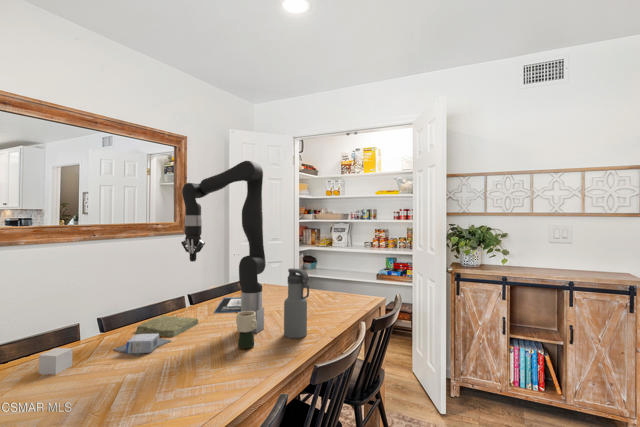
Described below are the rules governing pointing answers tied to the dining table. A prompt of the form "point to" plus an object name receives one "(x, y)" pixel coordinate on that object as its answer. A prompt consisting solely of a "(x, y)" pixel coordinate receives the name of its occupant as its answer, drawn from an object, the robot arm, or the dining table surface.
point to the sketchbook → (229, 305)
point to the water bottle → (296, 305)
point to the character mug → (246, 328)
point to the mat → (123, 349)
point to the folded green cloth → (167, 325)
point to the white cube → (55, 361)
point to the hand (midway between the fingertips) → (192, 261)
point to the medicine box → (142, 343)
